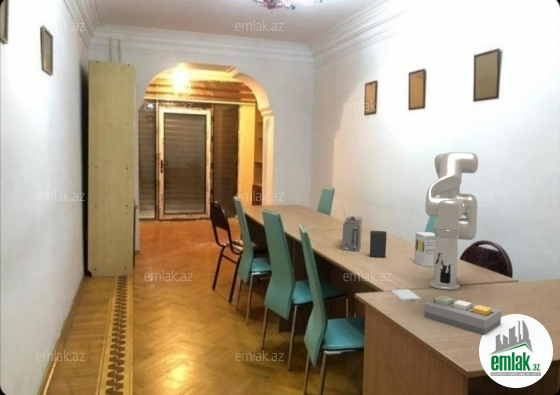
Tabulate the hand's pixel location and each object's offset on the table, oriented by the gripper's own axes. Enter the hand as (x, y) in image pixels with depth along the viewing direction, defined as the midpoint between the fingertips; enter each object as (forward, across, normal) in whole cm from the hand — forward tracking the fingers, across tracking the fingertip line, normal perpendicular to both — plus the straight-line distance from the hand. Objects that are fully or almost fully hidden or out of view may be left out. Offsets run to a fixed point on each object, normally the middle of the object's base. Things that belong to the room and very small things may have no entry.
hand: (445, 282), depth 168 cm
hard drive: (+13, -10, -22) cm, 27 cm away
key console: (+13, -1, +7) cm, 14 cm away
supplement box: (+11, -67, -43) cm, 80 cm away
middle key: (+9, -1, +7) cm, 11 cm away
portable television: (+11, -70, -96) cm, 119 cm away
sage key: (+9, -1, 0) cm, 9 cm away
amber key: (+9, -1, +14) cm, 16 cm away
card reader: (+11, -61, -70) cm, 94 cm away
